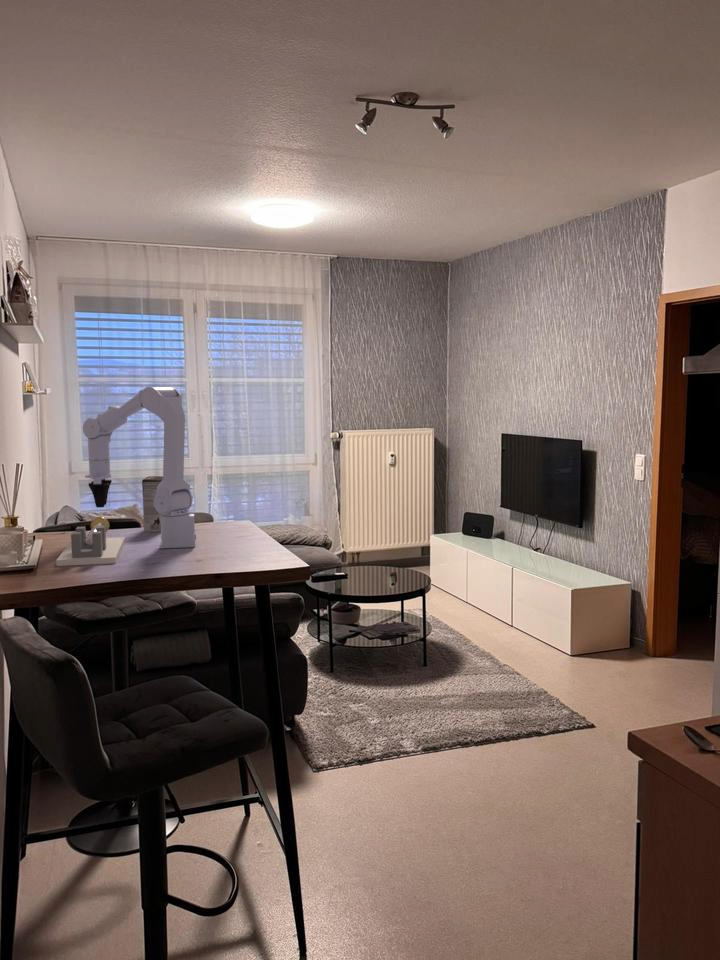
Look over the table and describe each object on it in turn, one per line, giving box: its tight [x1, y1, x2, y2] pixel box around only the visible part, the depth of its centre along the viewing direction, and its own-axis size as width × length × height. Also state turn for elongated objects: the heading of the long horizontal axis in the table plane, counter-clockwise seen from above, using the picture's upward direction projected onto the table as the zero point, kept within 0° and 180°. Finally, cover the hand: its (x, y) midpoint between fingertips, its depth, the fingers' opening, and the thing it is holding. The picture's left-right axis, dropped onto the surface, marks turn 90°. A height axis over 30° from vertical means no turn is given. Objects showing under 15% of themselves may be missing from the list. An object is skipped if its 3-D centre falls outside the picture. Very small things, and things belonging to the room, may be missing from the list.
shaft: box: [85, 516, 110, 545], centre depth 211 cm, size 5×23×5 cm, turn 12°
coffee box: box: [141, 475, 163, 533], centre depth 240 cm, size 9×6×16 cm
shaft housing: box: [55, 526, 126, 567], centre depth 205 cm, size 14×27×8 cm, turn 12°
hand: (101, 506), depth 226 cm, fingers open, 4 cm apart
